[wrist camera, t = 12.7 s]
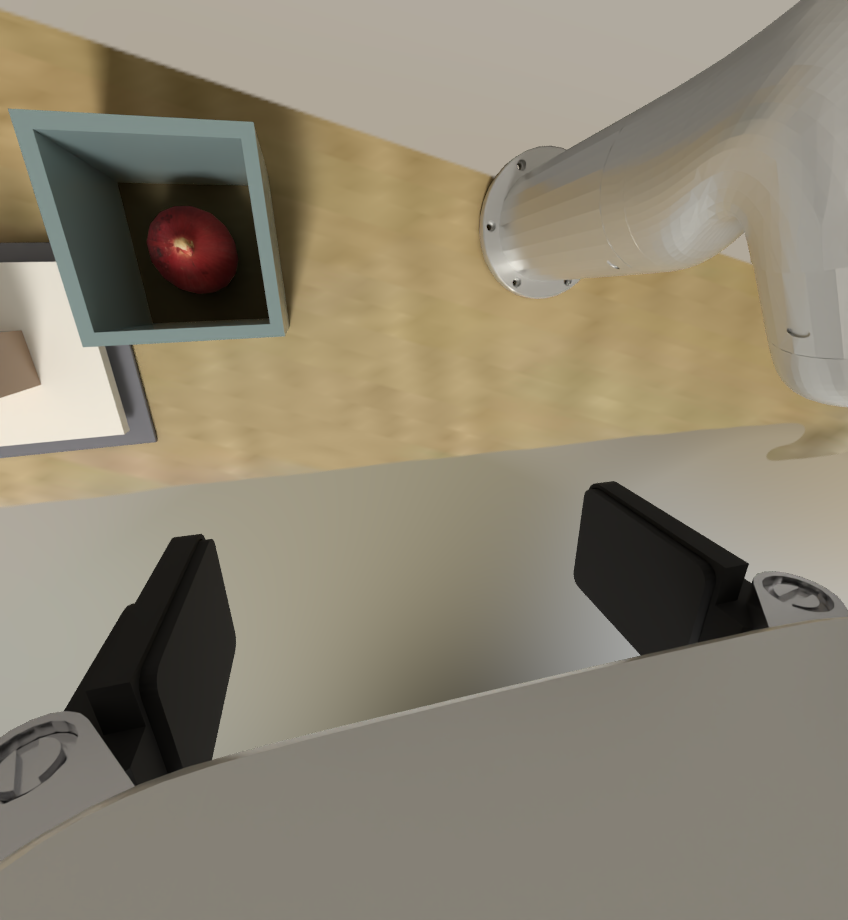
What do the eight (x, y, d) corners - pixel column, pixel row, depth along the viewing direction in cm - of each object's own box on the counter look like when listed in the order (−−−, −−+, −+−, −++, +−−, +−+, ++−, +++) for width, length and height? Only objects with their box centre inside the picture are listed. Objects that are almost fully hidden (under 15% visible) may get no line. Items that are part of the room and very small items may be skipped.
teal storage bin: (267, 174, 34) (253, 121, 24) (289, 326, 38) (284, 336, 28) (101, 169, 31) (7, 108, 21) (144, 334, 35) (82, 347, 25)
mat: (103, 242, 33) (101, 242, 32) (157, 440, 38) (156, 441, 38) (-164, 244, 29) (-170, 243, 29) (-60, 462, 35) (-64, 464, 34)
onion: (175, 296, 35) (142, 296, 28) (154, 216, 33) (113, 193, 26) (250, 291, 36) (236, 290, 29) (234, 214, 34) (216, 192, 27)
